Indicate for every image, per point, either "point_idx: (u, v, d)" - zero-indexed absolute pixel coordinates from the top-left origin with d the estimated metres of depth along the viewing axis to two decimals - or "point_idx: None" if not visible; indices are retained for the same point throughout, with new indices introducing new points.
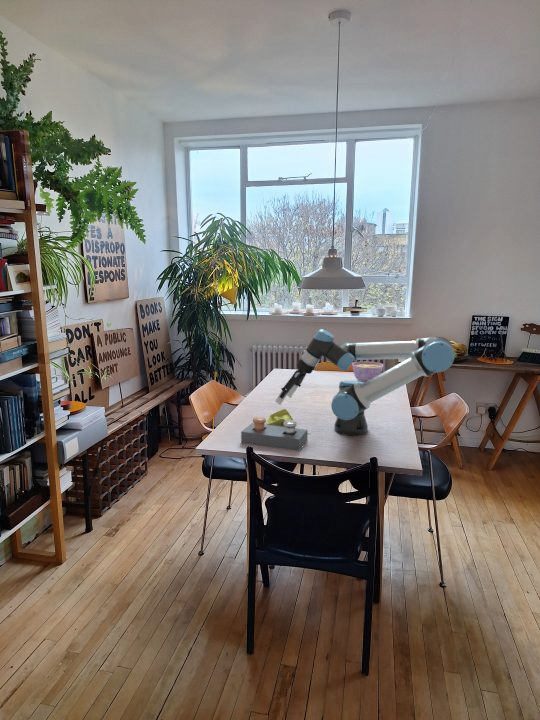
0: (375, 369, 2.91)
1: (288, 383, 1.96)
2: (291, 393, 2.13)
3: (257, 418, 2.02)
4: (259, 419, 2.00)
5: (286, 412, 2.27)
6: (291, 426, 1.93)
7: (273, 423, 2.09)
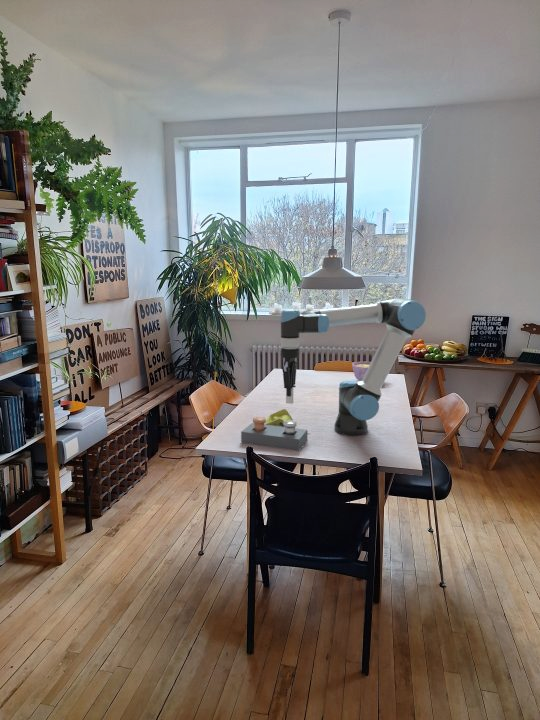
0: None
1: (285, 380, 1.88)
2: None
3: (257, 418, 2.02)
4: (259, 419, 2.00)
5: (286, 412, 2.27)
6: (291, 426, 1.93)
7: (271, 423, 2.09)
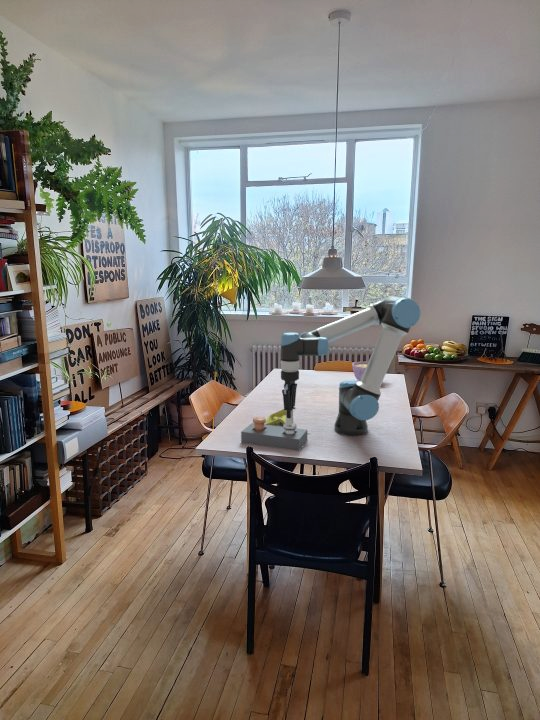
0: None
1: (285, 402, 1.90)
2: None
3: (257, 418, 2.02)
4: (259, 419, 2.00)
5: None
6: (291, 428, 1.94)
7: (271, 423, 2.09)
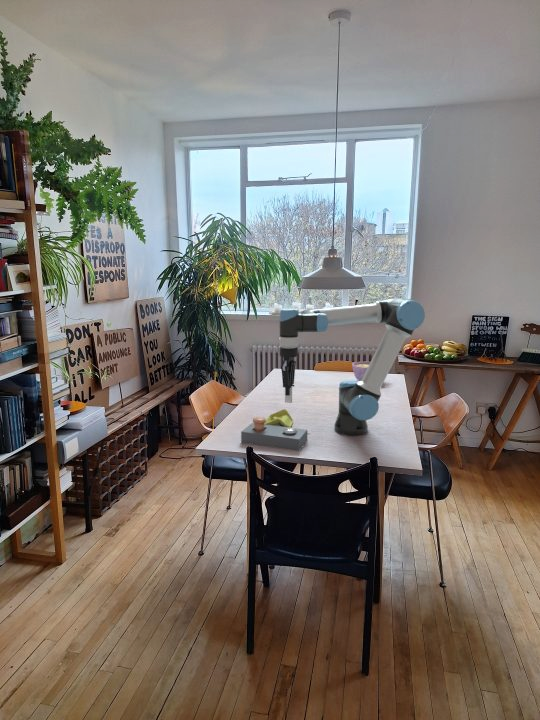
0: None
1: (283, 379, 1.88)
2: None
3: (257, 418, 2.02)
4: (259, 419, 2.00)
5: (286, 412, 2.26)
6: (291, 433, 1.94)
7: (270, 423, 2.09)
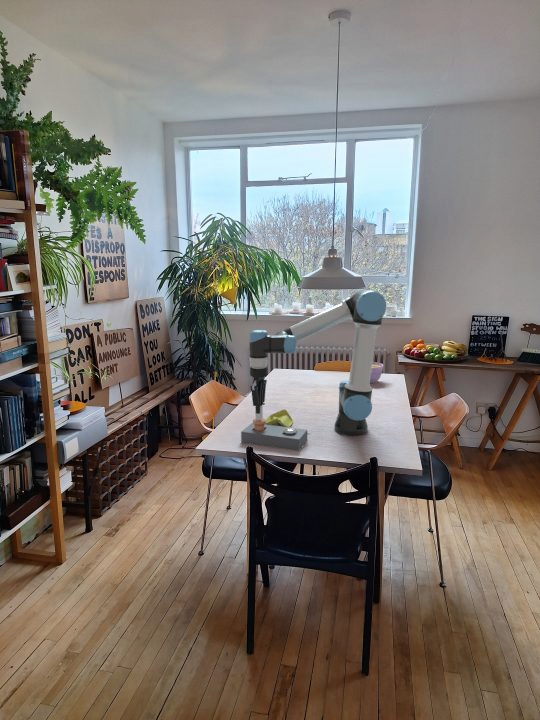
0: (375, 369, 2.91)
1: (253, 398, 1.95)
2: None
3: None
4: None
5: (286, 413, 2.26)
6: (291, 433, 1.94)
7: (268, 423, 2.09)
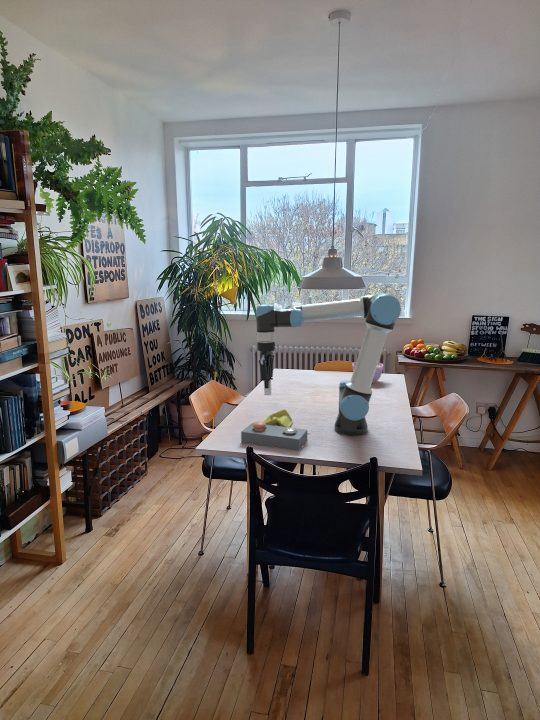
0: None
1: (262, 372, 1.95)
2: None
3: (257, 422, 2.02)
4: (259, 423, 2.01)
5: (286, 413, 2.26)
6: (291, 433, 1.94)
7: (267, 423, 2.09)
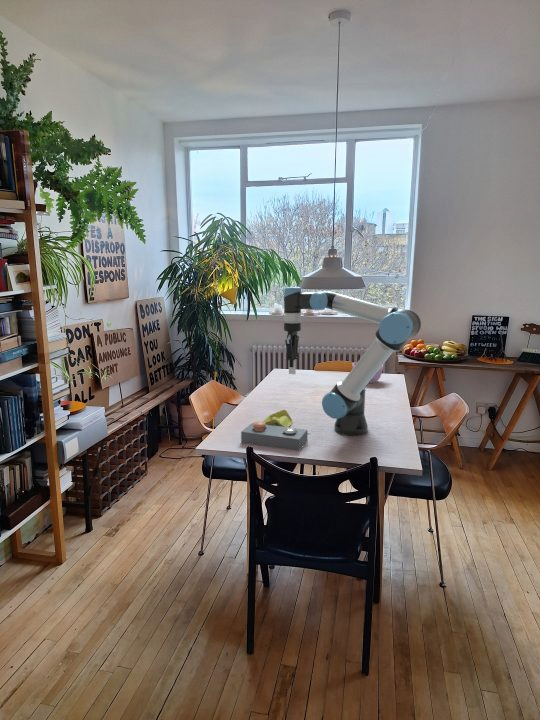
0: None
1: (288, 351, 2.05)
2: None
3: (257, 422, 2.02)
4: (259, 423, 2.01)
5: (286, 413, 2.26)
6: (291, 433, 1.94)
7: (266, 423, 2.09)
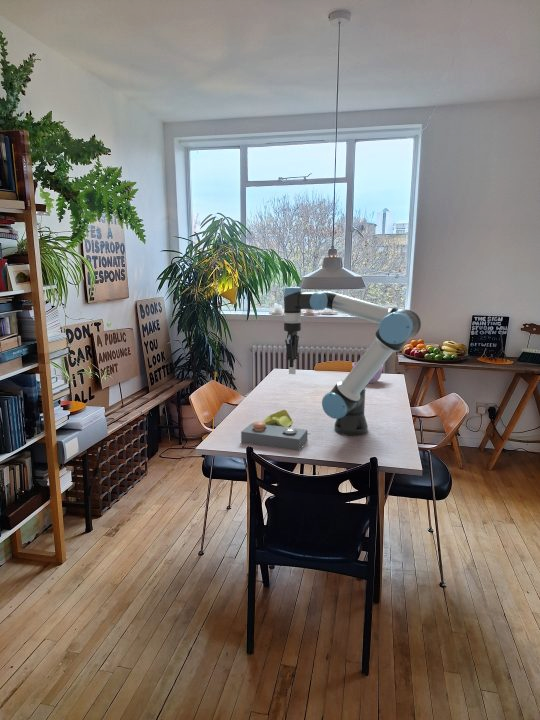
0: None
1: (288, 351, 2.05)
2: None
3: (257, 422, 2.02)
4: (259, 423, 2.01)
5: (286, 413, 2.26)
6: (291, 433, 1.94)
7: None
